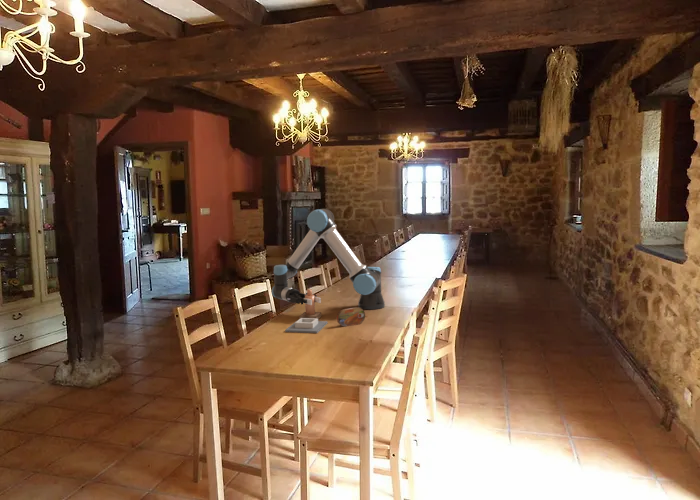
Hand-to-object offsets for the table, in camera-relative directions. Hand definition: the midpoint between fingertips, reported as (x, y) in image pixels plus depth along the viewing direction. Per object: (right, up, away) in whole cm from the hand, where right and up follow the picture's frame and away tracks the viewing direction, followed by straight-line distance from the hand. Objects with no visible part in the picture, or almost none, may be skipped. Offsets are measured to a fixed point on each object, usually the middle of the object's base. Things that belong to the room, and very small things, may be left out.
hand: (315, 301), depth 262 cm
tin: (+18, -11, -9) cm, 23 cm away
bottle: (-3, -7, +5) cm, 9 cm away
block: (-3, -10, +5) cm, 11 cm away
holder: (-4, -12, -12) cm, 17 cm away
